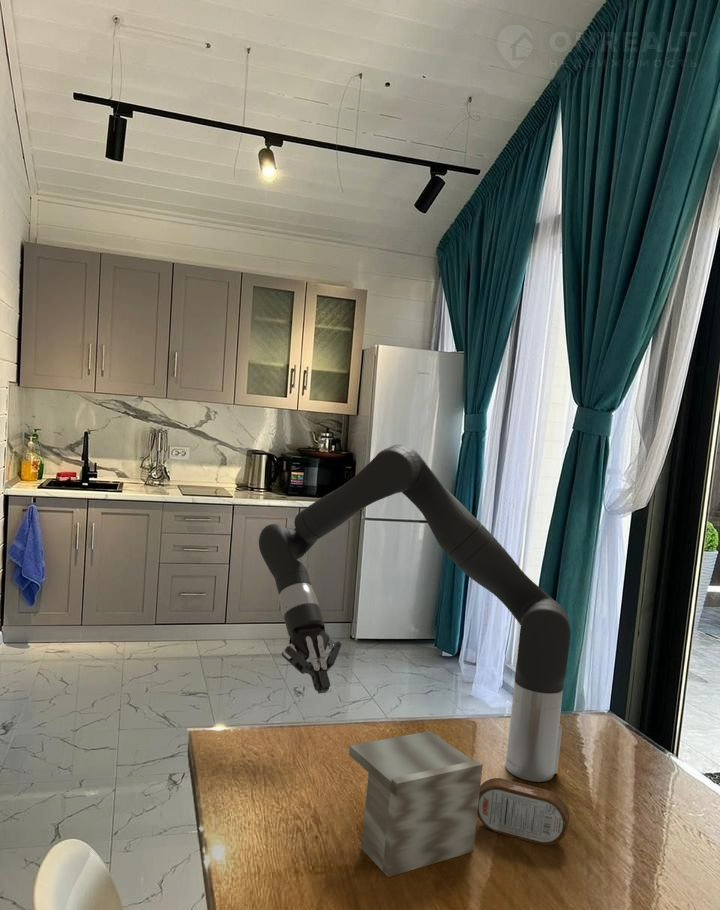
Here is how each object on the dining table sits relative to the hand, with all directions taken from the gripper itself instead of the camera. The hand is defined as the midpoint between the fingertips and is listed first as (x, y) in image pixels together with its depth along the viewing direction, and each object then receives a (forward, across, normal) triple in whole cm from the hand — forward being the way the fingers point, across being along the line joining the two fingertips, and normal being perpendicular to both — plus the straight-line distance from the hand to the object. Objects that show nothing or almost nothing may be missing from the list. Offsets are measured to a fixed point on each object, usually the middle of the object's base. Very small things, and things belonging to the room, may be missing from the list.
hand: (324, 691), depth 139 cm
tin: (+34, +18, -16) cm, 42 cm away
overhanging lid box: (+29, 0, -12) cm, 31 cm away
